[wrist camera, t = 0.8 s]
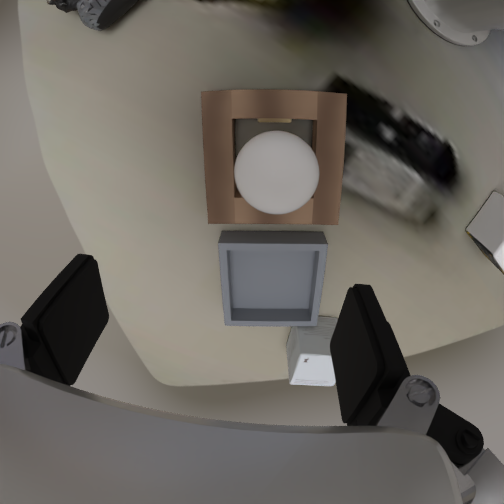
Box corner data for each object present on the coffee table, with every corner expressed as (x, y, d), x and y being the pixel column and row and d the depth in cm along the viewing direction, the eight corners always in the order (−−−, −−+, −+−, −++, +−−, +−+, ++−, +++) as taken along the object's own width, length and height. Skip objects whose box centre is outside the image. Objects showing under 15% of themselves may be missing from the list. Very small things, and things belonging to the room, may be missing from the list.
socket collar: (340, 94, 25) (346, 93, 23) (332, 215, 32) (337, 224, 30) (206, 92, 26) (201, 91, 24) (212, 214, 32) (208, 223, 30)
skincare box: (285, 344, 41) (287, 385, 35) (295, 312, 38) (299, 354, 32) (326, 347, 41) (333, 387, 35) (338, 316, 39) (350, 357, 32)
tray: (323, 231, 33) (327, 244, 30) (313, 310, 38) (316, 325, 35) (221, 230, 33) (218, 243, 30) (227, 309, 38) (224, 325, 36)
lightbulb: (318, 158, 29) (345, 190, 19) (269, 196, 31) (272, 245, 21) (277, 110, 27) (285, 115, 17) (228, 151, 29) (209, 178, 19)
